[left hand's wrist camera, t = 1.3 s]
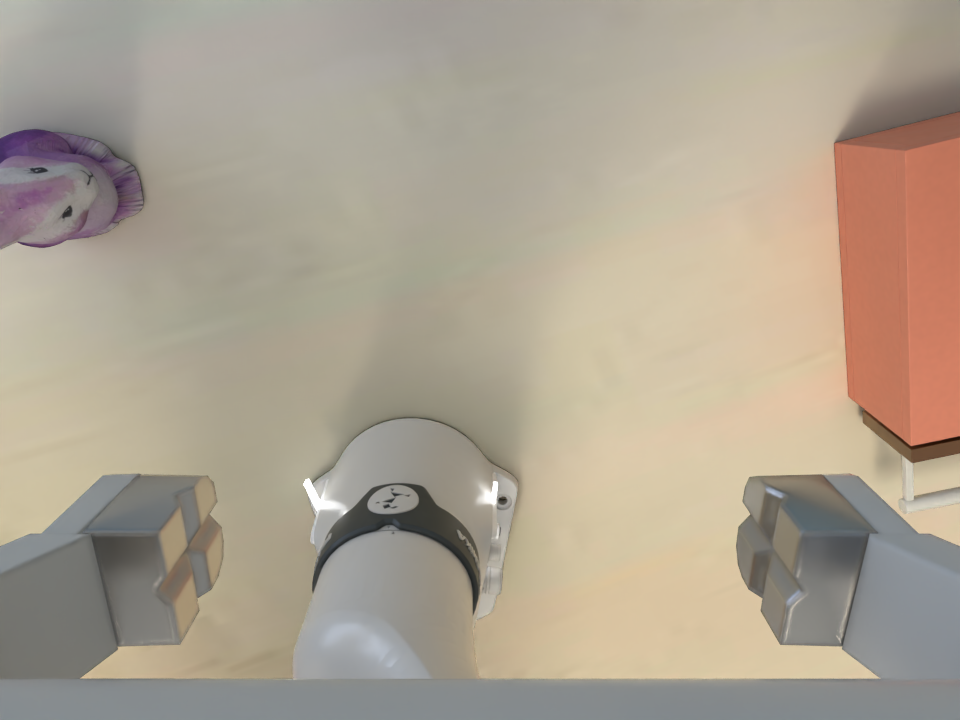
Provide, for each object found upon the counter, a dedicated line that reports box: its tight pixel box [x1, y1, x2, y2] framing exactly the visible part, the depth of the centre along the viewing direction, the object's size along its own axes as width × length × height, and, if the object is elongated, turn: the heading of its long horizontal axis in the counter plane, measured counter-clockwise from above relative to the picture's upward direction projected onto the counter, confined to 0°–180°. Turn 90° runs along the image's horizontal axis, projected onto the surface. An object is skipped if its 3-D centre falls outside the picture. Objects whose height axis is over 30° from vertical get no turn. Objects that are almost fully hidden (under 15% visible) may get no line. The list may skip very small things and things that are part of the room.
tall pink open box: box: [834, 112, 960, 446], centre depth 49 cm, size 21×11×9 cm, turn 14°
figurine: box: [0, 129, 144, 249], centre depth 44 cm, size 9×10×15 cm
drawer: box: [862, 410, 960, 514], centre depth 51 cm, size 26×10×7 cm, turn 14°
